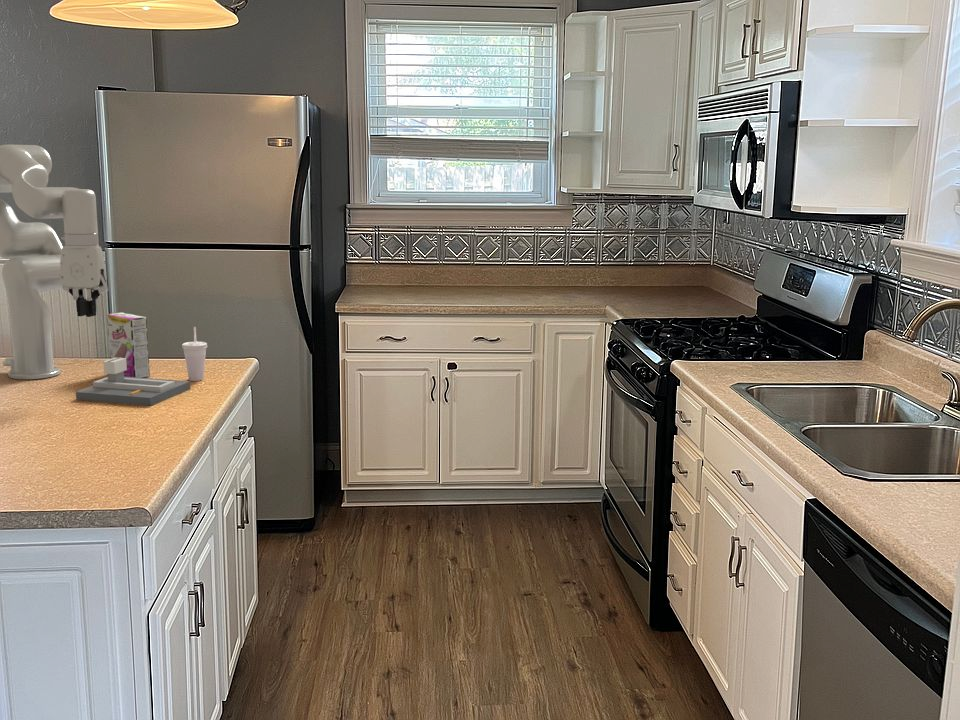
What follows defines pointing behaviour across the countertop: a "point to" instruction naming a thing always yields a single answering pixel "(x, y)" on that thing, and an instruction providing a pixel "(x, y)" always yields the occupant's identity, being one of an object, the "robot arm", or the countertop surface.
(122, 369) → the fader knob
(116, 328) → the candy bar box
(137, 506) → the countertop surface
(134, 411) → the countertop surface
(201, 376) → the smoothie
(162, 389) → the board
